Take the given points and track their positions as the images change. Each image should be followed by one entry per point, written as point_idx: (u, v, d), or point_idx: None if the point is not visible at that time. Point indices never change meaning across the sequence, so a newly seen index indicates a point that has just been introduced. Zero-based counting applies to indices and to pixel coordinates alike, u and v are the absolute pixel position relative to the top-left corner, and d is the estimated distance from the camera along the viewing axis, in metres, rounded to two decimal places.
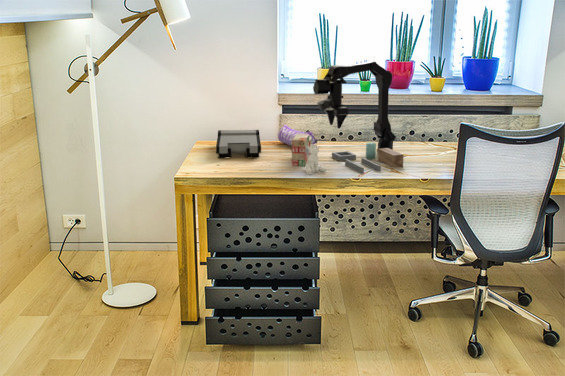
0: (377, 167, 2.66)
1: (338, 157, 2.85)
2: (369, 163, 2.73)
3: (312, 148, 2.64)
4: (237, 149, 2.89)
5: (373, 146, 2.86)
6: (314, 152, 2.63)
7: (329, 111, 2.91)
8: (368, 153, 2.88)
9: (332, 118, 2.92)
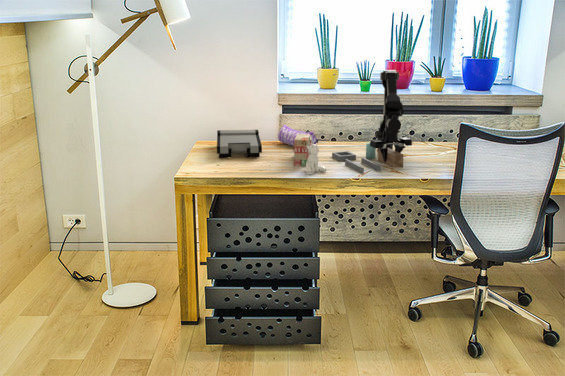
0: (377, 167, 2.66)
1: (338, 157, 2.85)
2: (369, 163, 2.73)
3: (312, 148, 2.64)
4: (238, 149, 2.89)
5: None
6: (314, 152, 2.63)
7: (396, 146, 2.79)
8: (368, 153, 2.88)
9: None
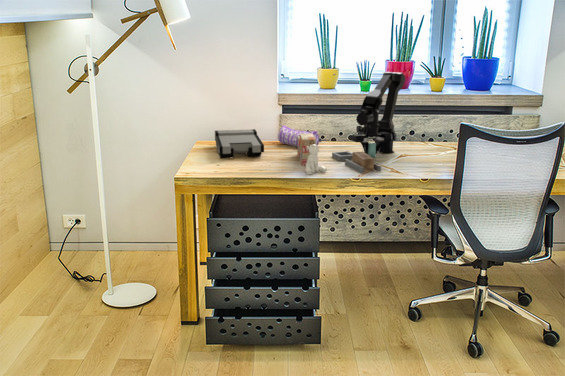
0: (377, 167, 2.66)
1: (338, 157, 2.85)
2: None
3: (312, 148, 2.64)
4: (239, 149, 2.89)
5: (373, 146, 2.86)
6: (314, 152, 2.63)
7: (375, 140, 2.90)
8: (368, 153, 2.88)
9: (376, 148, 2.89)
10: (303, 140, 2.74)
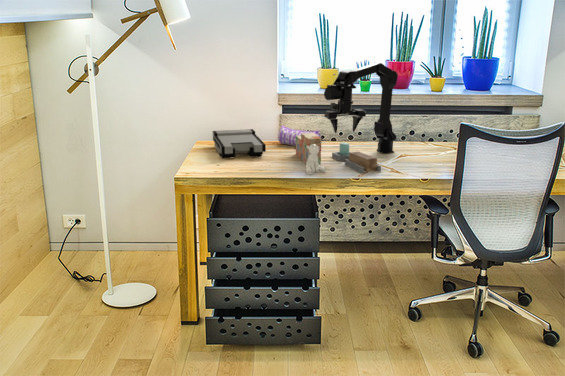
0: (377, 167, 2.66)
1: (338, 157, 2.85)
2: None
3: (312, 148, 2.64)
4: (241, 149, 2.90)
5: (346, 146, 2.86)
6: (314, 152, 2.63)
7: (354, 117, 2.87)
8: (341, 153, 2.87)
9: (354, 125, 2.86)
10: (309, 139, 2.75)
